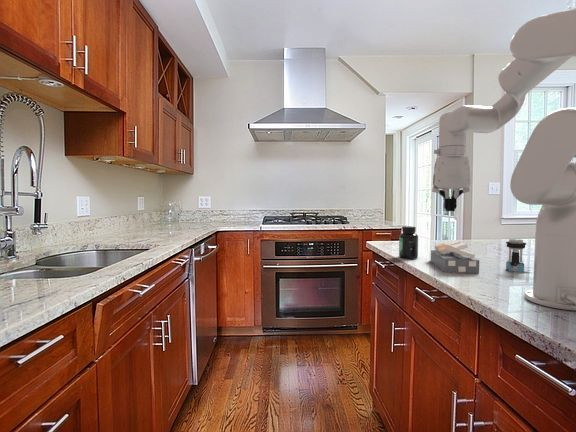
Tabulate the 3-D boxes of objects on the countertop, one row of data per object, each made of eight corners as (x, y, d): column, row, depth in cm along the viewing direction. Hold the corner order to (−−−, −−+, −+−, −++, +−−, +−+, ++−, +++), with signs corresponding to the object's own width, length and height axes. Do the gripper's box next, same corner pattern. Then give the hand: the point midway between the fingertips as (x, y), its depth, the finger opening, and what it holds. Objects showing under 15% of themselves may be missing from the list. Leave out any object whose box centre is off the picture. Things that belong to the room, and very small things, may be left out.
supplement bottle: (399, 259, 127) (399, 227, 126) (398, 255, 133) (399, 225, 133) (418, 259, 125) (419, 227, 124) (417, 256, 131) (417, 226, 131)
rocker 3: (473, 258, 105) (475, 254, 104) (448, 250, 106) (449, 245, 106) (469, 256, 108) (470, 252, 108) (444, 248, 110) (446, 244, 109)
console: (479, 273, 103) (479, 256, 103) (444, 272, 105) (445, 255, 105) (459, 261, 121) (460, 247, 121) (430, 260, 123) (431, 246, 123)
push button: (529, 270, 107) (530, 239, 106) (531, 274, 102) (532, 241, 102) (504, 268, 110) (505, 238, 110) (505, 271, 106) (506, 240, 105)
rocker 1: (461, 244, 116) (460, 241, 116) (438, 251, 118) (437, 247, 118) (458, 243, 120) (456, 239, 120) (435, 249, 122) (434, 245, 122)
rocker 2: (467, 247, 110) (466, 243, 110) (443, 254, 112) (441, 250, 112) (463, 245, 114) (462, 241, 114) (439, 252, 116) (438, 248, 116)
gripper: (429, 152, 103) (427, 211, 104) (482, 150, 101) (480, 211, 102) (423, 154, 111) (422, 210, 112) (473, 153, 108) (471, 210, 109)
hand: (450, 210), depth 107 cm, fingers closed
